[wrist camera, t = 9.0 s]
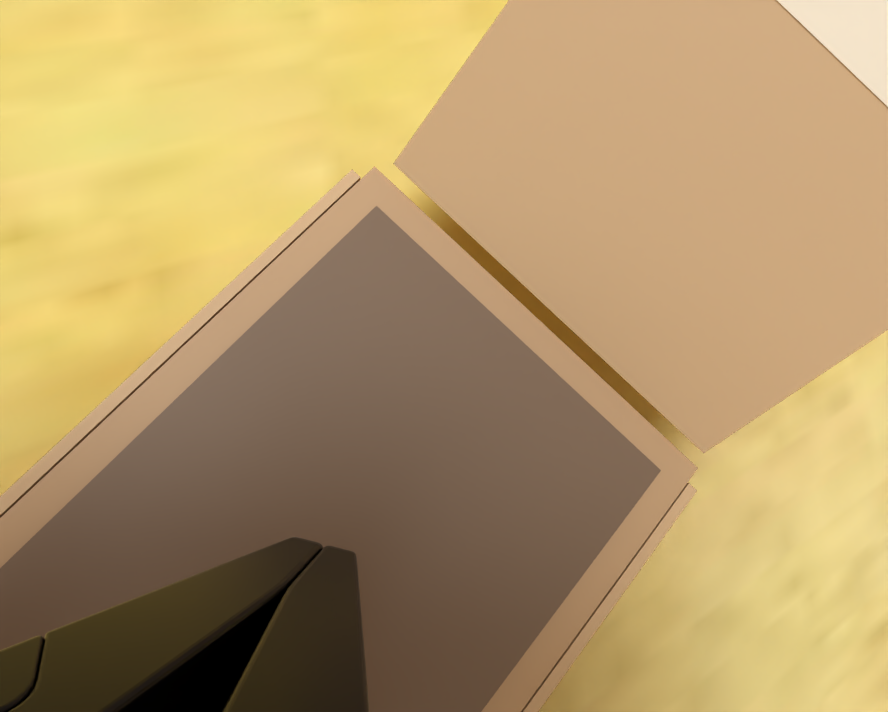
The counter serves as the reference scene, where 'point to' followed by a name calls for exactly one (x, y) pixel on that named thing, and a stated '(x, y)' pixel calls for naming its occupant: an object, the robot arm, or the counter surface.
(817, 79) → the flap
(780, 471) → the counter surface
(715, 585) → the counter surface
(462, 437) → the carton
